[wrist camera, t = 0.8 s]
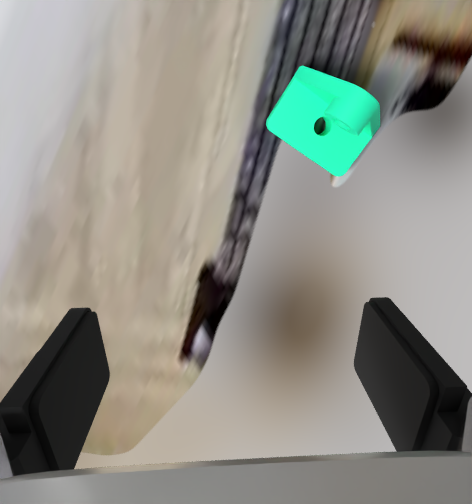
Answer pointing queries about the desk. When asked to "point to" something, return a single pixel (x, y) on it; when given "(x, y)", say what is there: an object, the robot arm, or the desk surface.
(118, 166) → the desk surface
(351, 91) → the camera mount
